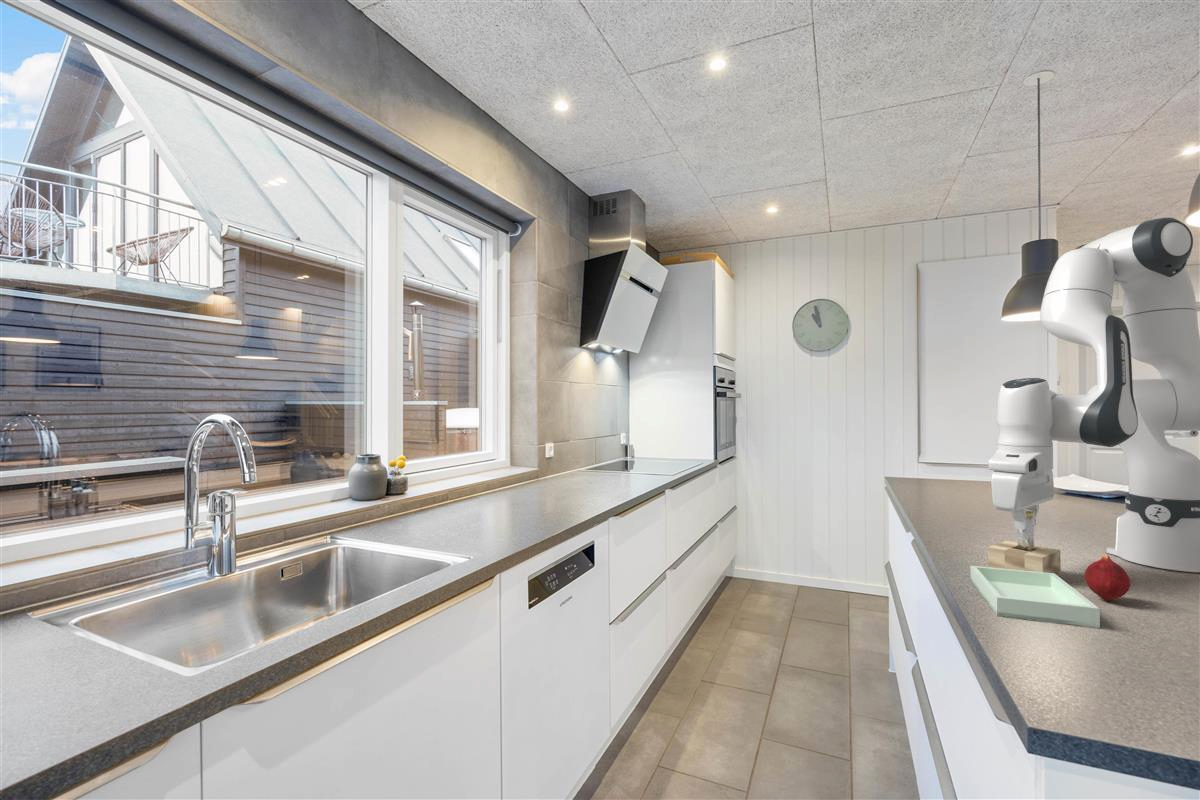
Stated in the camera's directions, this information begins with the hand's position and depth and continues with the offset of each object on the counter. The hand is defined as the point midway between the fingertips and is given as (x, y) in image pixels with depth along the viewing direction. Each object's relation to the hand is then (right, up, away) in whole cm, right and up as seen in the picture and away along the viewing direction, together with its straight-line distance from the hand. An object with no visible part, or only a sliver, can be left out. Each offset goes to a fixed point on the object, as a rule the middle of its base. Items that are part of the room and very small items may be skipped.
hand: (1025, 527), depth 108 cm
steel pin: (0, -7, 0) cm, 7 cm away
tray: (-11, -9, -15) cm, 21 cm away
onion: (+2, -9, -15) cm, 18 cm away
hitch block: (0, -9, 0) cm, 9 cm away
